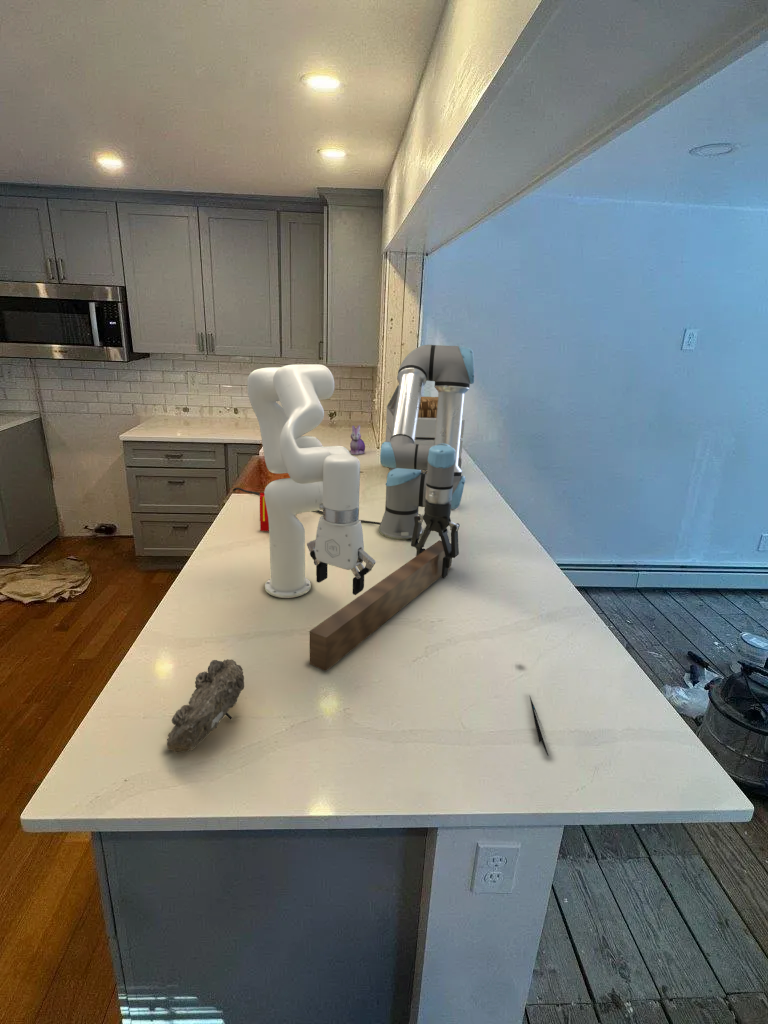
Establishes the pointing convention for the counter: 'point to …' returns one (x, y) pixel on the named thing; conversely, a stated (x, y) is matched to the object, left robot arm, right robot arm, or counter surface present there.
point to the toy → (263, 514)
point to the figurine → (356, 442)
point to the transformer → (421, 422)
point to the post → (374, 608)
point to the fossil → (206, 705)
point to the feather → (538, 726)
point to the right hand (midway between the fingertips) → (432, 573)
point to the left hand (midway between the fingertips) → (339, 586)
